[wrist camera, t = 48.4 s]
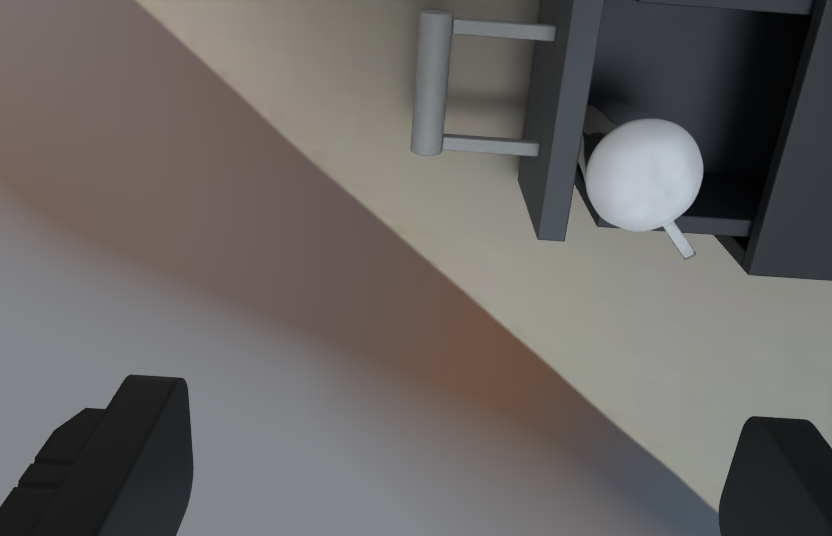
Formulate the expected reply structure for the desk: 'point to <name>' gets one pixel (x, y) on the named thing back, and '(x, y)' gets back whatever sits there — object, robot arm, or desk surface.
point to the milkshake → (639, 169)
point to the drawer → (634, 94)
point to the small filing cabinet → (798, 174)
